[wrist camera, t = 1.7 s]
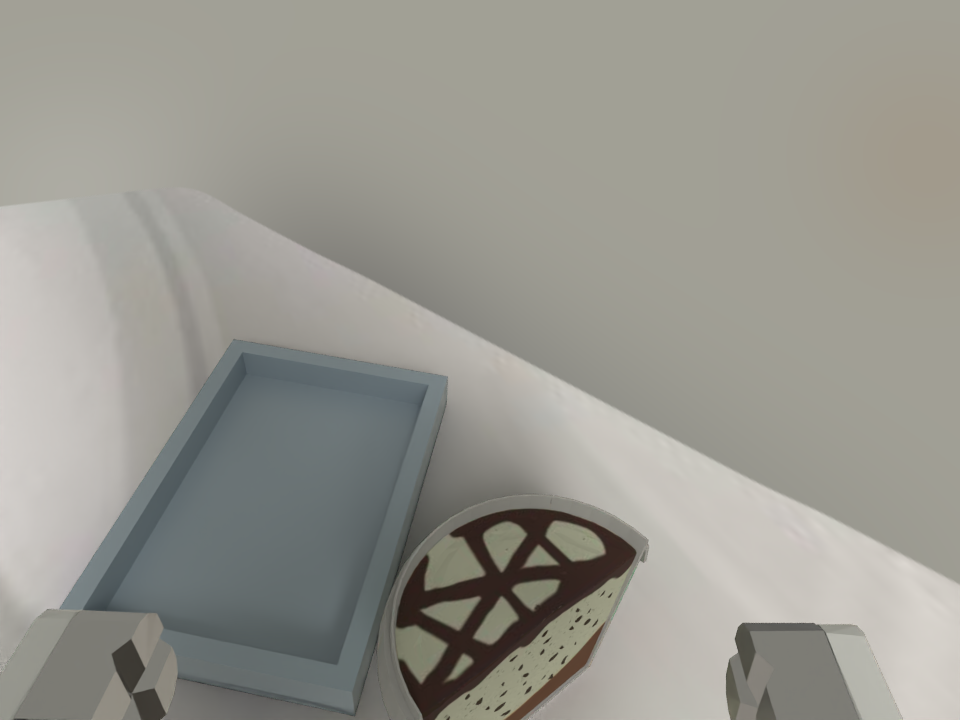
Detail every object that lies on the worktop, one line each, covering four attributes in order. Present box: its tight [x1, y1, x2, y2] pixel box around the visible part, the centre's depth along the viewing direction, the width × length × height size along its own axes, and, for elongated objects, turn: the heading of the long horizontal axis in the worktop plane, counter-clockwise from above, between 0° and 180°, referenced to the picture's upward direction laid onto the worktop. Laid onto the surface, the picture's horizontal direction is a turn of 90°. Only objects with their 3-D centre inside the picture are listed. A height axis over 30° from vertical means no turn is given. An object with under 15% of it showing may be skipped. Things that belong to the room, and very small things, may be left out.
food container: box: [377, 494, 649, 720], centre depth 32 cm, size 12×6×10 cm, turn 129°
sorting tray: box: [60, 339, 448, 716], centre depth 41 cm, size 14×20×2 cm
